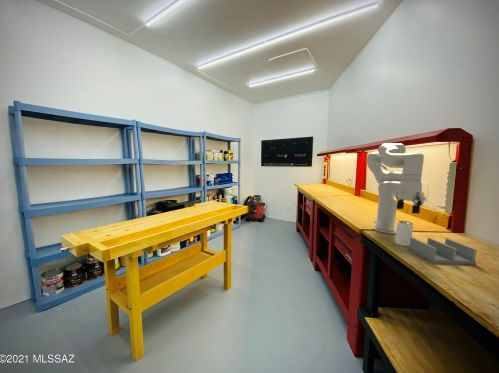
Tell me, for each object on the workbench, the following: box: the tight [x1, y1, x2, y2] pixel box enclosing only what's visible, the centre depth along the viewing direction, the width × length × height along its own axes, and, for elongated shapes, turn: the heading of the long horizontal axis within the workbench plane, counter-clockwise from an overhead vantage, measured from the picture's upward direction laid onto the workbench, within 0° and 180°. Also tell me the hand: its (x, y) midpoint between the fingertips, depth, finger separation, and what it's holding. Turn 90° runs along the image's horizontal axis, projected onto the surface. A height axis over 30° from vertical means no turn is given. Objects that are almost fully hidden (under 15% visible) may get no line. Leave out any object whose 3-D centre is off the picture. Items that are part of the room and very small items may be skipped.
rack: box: [407, 236, 478, 266], centre depth 86 cm, size 13×18×6 cm
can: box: [394, 220, 414, 248], centre depth 99 cm, size 6×6×12 cm
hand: (407, 211), depth 97 cm, fingers open, 9 cm apart
